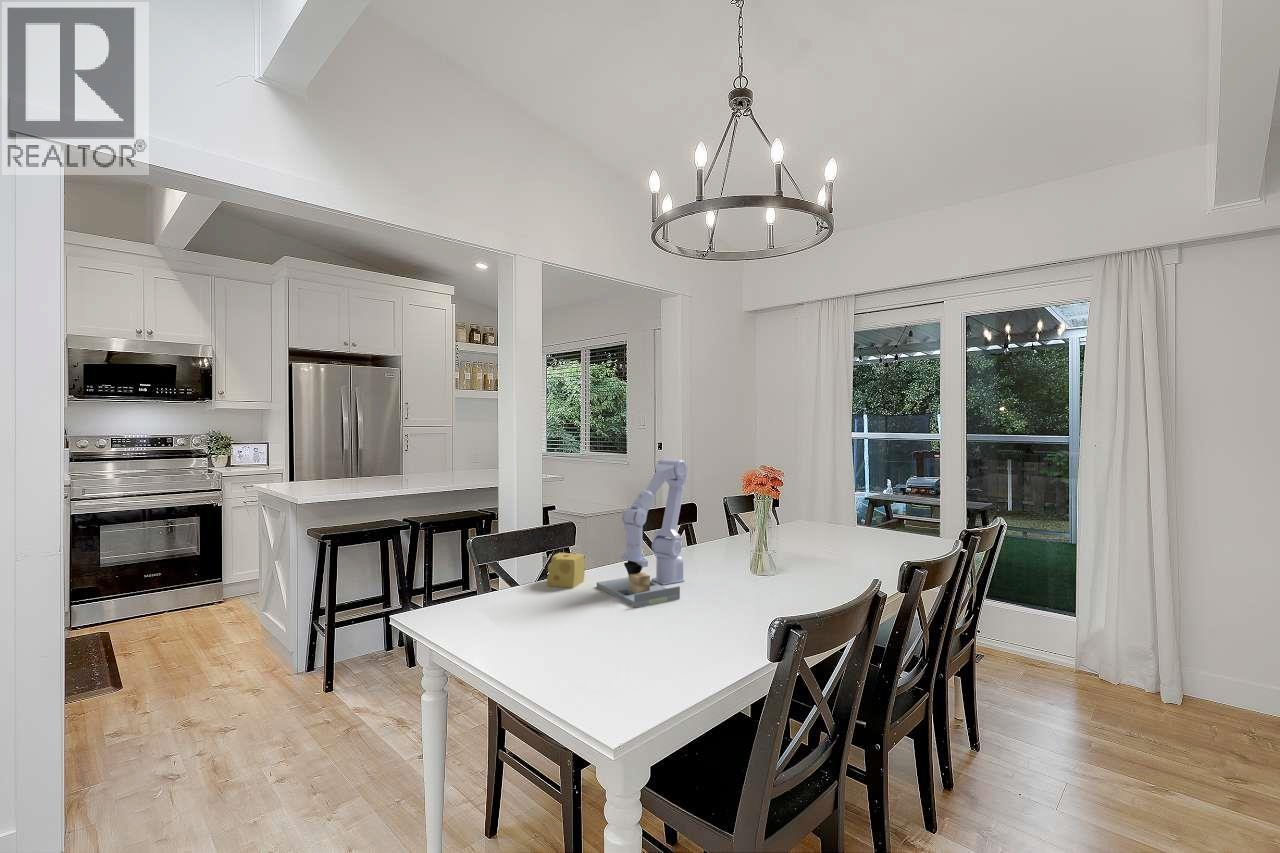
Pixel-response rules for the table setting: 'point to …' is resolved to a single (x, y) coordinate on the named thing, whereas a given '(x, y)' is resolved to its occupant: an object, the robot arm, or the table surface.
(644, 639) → the table surface
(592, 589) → the table surface
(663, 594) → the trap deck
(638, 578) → the oak block
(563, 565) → the cheese
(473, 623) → the table surface
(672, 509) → the robot arm
